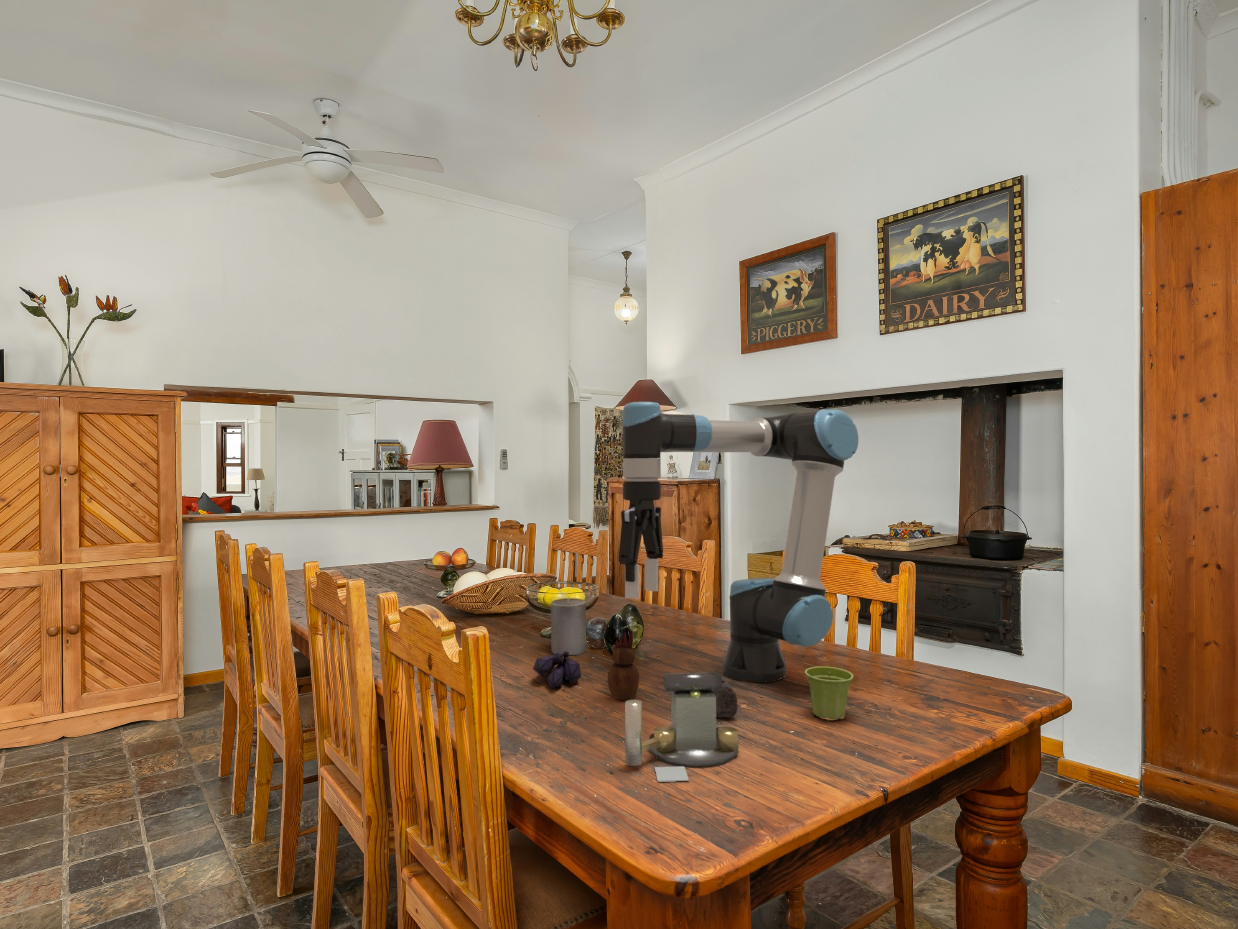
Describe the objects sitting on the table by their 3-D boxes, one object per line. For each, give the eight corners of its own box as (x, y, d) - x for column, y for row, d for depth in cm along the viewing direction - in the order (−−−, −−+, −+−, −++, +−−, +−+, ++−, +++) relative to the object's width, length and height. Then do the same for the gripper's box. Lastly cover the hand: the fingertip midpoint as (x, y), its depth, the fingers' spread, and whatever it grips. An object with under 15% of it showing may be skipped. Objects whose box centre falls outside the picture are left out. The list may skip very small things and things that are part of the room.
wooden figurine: (643, 696, 149) (642, 628, 149) (632, 704, 144) (632, 634, 144) (615, 692, 152) (615, 625, 152) (604, 700, 147) (603, 631, 147)
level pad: (684, 768, 114) (684, 766, 114) (688, 782, 109) (688, 780, 109) (654, 769, 113) (654, 767, 113) (657, 782, 108) (657, 781, 108)
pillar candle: (566, 644, 193) (566, 592, 193) (593, 649, 188) (592, 595, 188) (543, 652, 185) (542, 598, 185) (571, 658, 180) (570, 602, 180)
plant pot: (853, 710, 140) (853, 668, 140) (853, 727, 131) (853, 682, 131) (806, 705, 143) (806, 664, 143) (803, 721, 134) (803, 677, 134)
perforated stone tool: (695, 698, 148) (695, 666, 148) (719, 697, 149) (719, 665, 149) (714, 724, 133) (713, 688, 133) (739, 722, 134) (739, 687, 134)
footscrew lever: (664, 745, 121) (664, 689, 121) (678, 751, 118) (678, 694, 118) (620, 760, 114) (620, 701, 114) (634, 768, 112) (633, 707, 112)
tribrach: (727, 729, 130) (727, 659, 131) (747, 766, 114) (747, 686, 114) (644, 731, 130) (644, 661, 130) (653, 768, 113) (653, 688, 113)
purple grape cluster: (540, 643, 172) (530, 658, 152) (585, 647, 172) (581, 663, 152) (537, 671, 171) (526, 690, 151) (582, 676, 171) (578, 696, 151)
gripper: (646, 479, 146) (647, 584, 146) (599, 481, 127) (600, 602, 127) (679, 479, 142) (679, 587, 142) (635, 481, 124) (636, 605, 123)
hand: (642, 594), depth 135 cm, fingers open, 8 cm apart
